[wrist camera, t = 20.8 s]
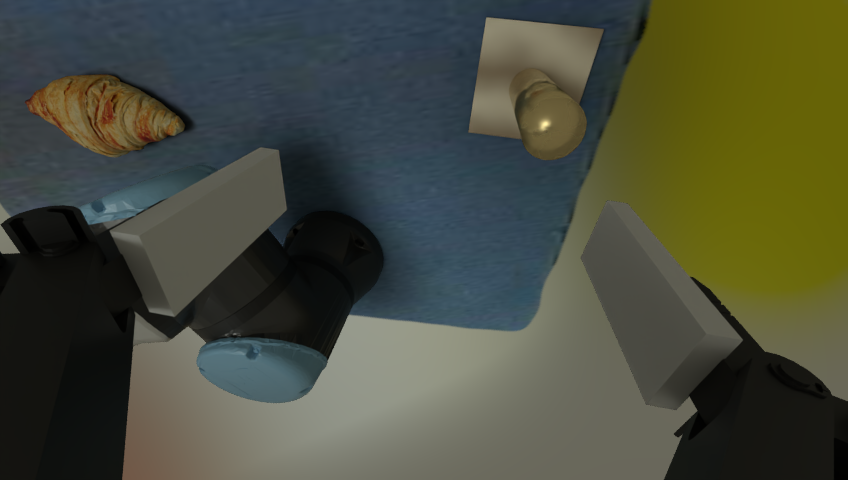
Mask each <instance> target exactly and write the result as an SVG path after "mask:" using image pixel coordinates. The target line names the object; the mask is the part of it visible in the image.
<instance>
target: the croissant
mask: <svg viewBox="0 0 848 480" xmlns="http://www.w3.org/2000/svg"><path fill="white" fill-rule="evenodd" d="M25 103H26V104H27V106H28V108H29V111H30V112H32V113H33V114H35V115H38V116H41V117H42V118H43V119H45V120H46V121H48V122H50V123H52V124H54V125H56V126H57V127H58V128H60V129H61V130H62V131H63V132H64V133H65V134H66V135H68V136H69V137H70V138H71V139H72V140H74V141H76V142H77V143H79V144H80V145H82V146H84V147H85V148H89V149H90V150H92V151H94V152H96V153H100V154H103V155H106V156H109V157H119V156H121V155H125V154H127V153H129V152H130V151H131V150H140V149H143V147H144V146H145V145H146V144H147V143H149V142H157V141H161V140H162V139H163V138H165V137H167V136H168V134H169V135H173V136H174V135H176V134H178V133H180V132H182V131H183V130H184V127H185V124H184V123H183V121H182V120H181V119H180V117H179V116H177V115H176V114H175V113H173V112H172V111H170V110H169V109H168V108H166V107H165V106H164V105H163V104H162V103H161V102H159V101H157V100H155V98H152V97H150V96H149V95H147V94H145V93H144V92H142V91H141V90H139V89H137V88H135V87H132V86H130V85H128V84H125V83H122V82H120V80H119V79H118V78H116V77H114V76H112V75H78V76H66V77H63V78H61V79H58V80H54V81H52V82H51V83H49V84H48V86H47V87H45V88H42V89H41V90H37V91H36V92H35V93H34V94H33V96H32V97H31V98H30V99H28V100H26V101H25Z"/></svg>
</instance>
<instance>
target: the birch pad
mask: <svg viewBox="0 0 848 480" xmlns="http://www.w3.org/2000/svg"><path fill="white" fill-rule="evenodd" d="M603 30H604V29H597V28H587V27H577V26H567V25H557V24H547V23H537V22H528V21H518V20H508V19H498V18H488V17H486V24H485V30H484V36H483V43H482V49H481V55H480V62H479V68H478V74H477V81H476V87H475V93H474V100H473V106H472V112H471V119H470V125H469V131H468V132H471V133H479V134H486V135H494V136H502V137H509V138H517V139H522V138H521V135H520V131H519V128H518V124H517V121H516V117H515V114H514V110H513V107H512V103H511V100H510V96H509V87H510V84H511V82H512V80H513V78H514V77H515V76H516V75H517V74H518V73H519V72H521V71H522V70H525V69H528V68H535V69H538V70H540V71H542V72H543V73H544V74H545V75H546V76H548V77H549V78H550V79H551V80H552V81H553V82H554V83H555V84H556V85H557V86H559V87H560V88H561V89H562V90H563V91H564V92H565V93H566V94H567V95H569V96H570V97H571V98H572V99H573V100H574V101H575V102H576V103H577V104H578V105H579V103H580V100H581V97H582V94H583V91H584V88H585V85H586V82H587V79H588V76H589V73H590V70H591V67H592V64H593V61H594V58H595V55H596V52H597V49H598V46H599V42H600V39H601V36H602V33H603Z"/></svg>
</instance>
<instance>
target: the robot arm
mask: <svg viewBox="0 0 848 480" xmlns="http://www.w3.org/2000/svg"><path fill="white" fill-rule="evenodd" d="M286 210H287V207H286V199H285V192H284V185H283V178H282V171H281V164H280V157H279V150H275V149H268V148H262V147H260V148H258V149H257V150H255V151H253V152H251V153H249V154H248V155H246V156H244V157H242V158H240V159H239V160H237V161H235V162H233V163H231V164H229V165H228V166H226V167H224V168H222V169H220V170H219V171H218V170H217V169H215V168H213V167H211V166H206V165H194V166H189V167H186V168H182V169H179V170H175V171H172V172H169V173H166V174H162V175H159V176H157V177H154V178H151V179H148V180H145V181H142V182H139V183H137V184H134V185H131V186H129V187H126V188H123V189H121V190H118V191H116V192H113V193H111V194H108V195H106V196H104V197H103V198H100V199H97V200H95V201H93V202H91V203H87V204H84V205H82V206H80V207H78V208H76V207H74V206H64V205H62V206H48V207H43V208H37V209H33V210H29V211H26V212H23V213H19V214H17V215H15V216H13V217H11V218H9V219H7V220H6V221H4V222H3V223H2V224H1V226H2V227H3V229H4V230H5V232H6V233H7V235H8V236H9V237H10V239H11V240H12V242H13V243H14V245H15V246H16V247H17V249H18V250H19V252H20V253H15V254H2V253H1V252H0V480H122V474H123V462H124V450H125V438H126V425H127V413H128V401H129V389H130V376H131V364H132V352H133V347H134V346H135V345H138V344H141V343H154V342H168V341H169V340H171V339H172V338H174V337H175V336H176V335H177V334H179V333H180V332H181V331H182V330H183V329H185V328H186V327H188V326H189V327H190V328H191V329H192V330H193V331H194V332H195V333H197V334H198V335H199V336H200V337H201V338H202V339H203V340H204V341H205V342H206V344H205V345H204V346H202V347H201V349H200V352H199V355H198V357H197V366H198V367H199V370H200V372H201V374H202V375H203V376H204V377H205V378H206V379H207V380H209V381H210V382H211V383H213V384H214V385H216V386H217V387H219V388H221V389H223V390H225V391H227V392H229V393H232V394H234V395H237V396H240V397H243V398H246V399H250V400H255V401H260V402H267V403H283V402H290V401H294V400H297V399H299V398H301V397H303V396H304V395H306V394H307V393H308V392H309V391H310V390H311V389H312V388H313V386H314V384H315V382H316V380H317V379H318V377H319V375H320V373H321V372H322V370H323V369H324V368H325V367H326V365H327V361H328V359H329V356H330V354H331V352H332V350H333V348H334V346H335V343H336V341H337V339H338V337H339V335H340V332H341V330H342V328H343V326H344V324H345V321H346V319H347V316H348V315H349V313H350V310H351V308H352V306H353V305H354V304H355V303H356V302H357V301H358V300H359V299H361V298H362V297H363V296H364V295H365V294H366V293H367V292H368V291H369V290H370V289H372V287H373V286H374V285H375V283H376V282H377V280H378V278H379V275H380V273H381V271H382V267H383V254H382V250H381V247H380V245H379V243H378V241H377V240H376V238H375V237H374V235H373V234H372V233H371V232H370V231H369V230H368V229H367V228H366V227H365V226H364V225H363V224H361V223H360V222H358V221H357V220H355V219H353V218H351V217H349V216H347V215H344V214H341V213H337V212H331V211H319V212H314V213H311V214H308V215H306V216H304V217H303V218H301V219H300V220H299V221H298V222H297V223H296V224H295V225H294V226H293V227H292V228H291V230H290V231H289V233H288V234H287V236H286V239H285V242H284V246H283V247H282V245H281V244H280V243H279V242H278V240H277V239H276V238H275V237H274V235H273V234H272V233H271V232H270V230H269V229H268V227H269V226H270V225H271V224H273V223H274V222H275V221H276V220H277V219H278V218H279V217H280V216H281V215H282V214H283V213H284V212H285V211H286ZM581 259H582V262H583V264H584V266H585V268H586V271H587V273H588V275H589V277H590V280H591V282H592V284H593V286H594V288H595V291H596V293H597V295H598V298H599V300H600V302H601V304H602V307H603V309H604V311H605V313H606V315H607V318H608V320H609V322H610V324H611V327H612V329H613V331H614V333H615V336H616V338H617V340H618V342H619V345H620V347H621V349H622V352H623V354H624V356H625V358H626V361H627V363H628V365H629V367H630V370H631V372H632V374H633V376H634V379H635V381H636V383H637V385H638V388H639V390H640V392H641V394H642V397H643V399H644V401H645V403H646V405H652V406H657V407H662V408H668V409H673V410H677V409H678V408H679V407H680V406H681V404H682V403H683V402H684V401H685V400H686V399H687V398H688V397H689V396H690V398H691V400H692V401H693V403H694V405H695V407H696V408H697V410H698V411H697V412H696V413H695V414H694V415H693V416H692V417H691V418H690V419H689V420H688V421H687V422H685V424H683V425H682V426H681V427H680V428H679V429H678V430H677V431H676V432H675V433H674V435H675V436H677V437H679V436H681V435H682V434H683V435H682V438H681V440H680V443H679V445H678V447H677V450H676V452H675V454H674V457H673V459H672V462H671V464H670V466H669V469H668V471H667V474H666V476H665V479H664V480H848V401H845V400H843V399H840V398H838V397H835V396H832V394H831V392H830V390H829V389H828V388H827V387H826V386H825V385H824V383H823V382H822V381H821V380H820V379H818V378H817V377H816V376H815V375H813V374H812V373H811V372H810V371H808V370H807V369H805V368H804V367H802V366H800V365H799V364H797V363H795V362H794V361H791V360H789V359H787V358H785V357H782V356H780V355H777V354H773V353H769V352H765V351H764V350H763V349H762V348H761V347H760V346H759V345H758V343H757V342H756V341H755V340H754V339H753V338H752V337H751V335H750V334H748V332H747V331H746V330H745V329H744V328H743V326H742V325H741V324H740V323H739V322H738V321H737V320H736V318H735V317H734V316H731V315H730V314H731V313H730V312H729V311H728V310H727V309H726V307H725V306H724V305H721V301H720V300H718V299H717V297H716V296H715V295H714V294H713V292H712V291H711V290H710V289H709V288H707V287H706V286H704V285H703V284H701V283H700V282H699V281H697V280H696V279H695V278H693V277H689V276H688V275H687V273H686V272H685V271H684V270H683V269H682V267H681V266H680V265H679V264H678V263H677V261H676V260H675V259H674V258H673V257H672V256H671V254H670V253H669V252H668V251H667V250H666V249H665V248H664V246H663V245H662V244H661V243H660V241H659V240H658V239H657V238H656V237H655V236H654V234H653V233H652V232H651V231H650V230H649V228H648V227H647V226H646V225H645V224H644V222H643V221H642V220H641V219H640V218H639V217H638V215H637V214H636V213H635V212H634V211H633V209H632V208H631V207H630V206H629V205H628V204H627V203H622V202H615V201H608V200H607V201H606V204H605V206H604V208H603V210H602V212H601V214H600V217H599V219H598V221H597V223H596V226H595V228H594V230H593V232H592V234H591V237H590V239H589V241H588V243H587V245H586V247H585V250H584V252H583V254H582V256H581Z"/></svg>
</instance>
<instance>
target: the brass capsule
mask: <svg viewBox="0 0 848 480" xmlns="http://www.w3.org/2000/svg"><path fill="white" fill-rule="evenodd" d="M509 96H510V100H511V103H512V107H513V110H514V114H515V117H516V121H517V124H518V128H519V131H520V135H521V138H522V142H523V145H524V147H525V148H526V150H527V151H528V152H529V153H530V154H531V155H533V156H534V157H536V158H539V159H543V160H555V159H559V158H562V157H564V156H566V155H568V154H569V153H571V152H572V151H573V150H575V149H576V148H577V146H578V145H579V144H580V143H581V141H582V139H583V137H584V135H585V132H586V125H587V122H586V116H585V113H584V111H583V109H582V108H581V107H580V105H578V104H577V103H576V102H575V101H574V100H573V99H572V98H571V97H570V96H569V95H567V94H566V93H565V92H564V91H563V90H562V89H561V88H560V87H559V86H557V85H556V84H555V83H554V82H553V81H552V80H551V79H550V78H549V77H548V76H546V75H545V74H544V73H543V72H542V71H540V70H538V69H535V68H528V69H525V70H522V71H521V72H519V73H518V74H517V75H516V76H515V77H514V78H513V80H512V82H511V84H510V87H509Z"/></svg>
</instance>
